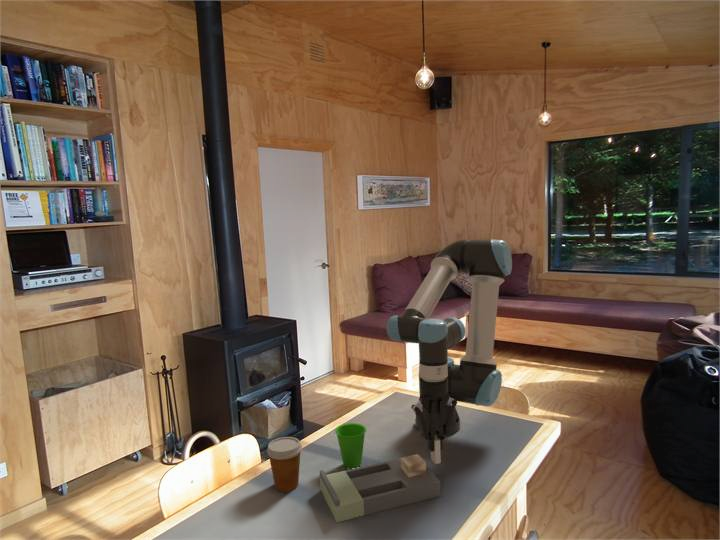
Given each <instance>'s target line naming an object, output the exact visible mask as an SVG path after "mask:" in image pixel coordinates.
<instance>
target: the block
mask: <svg viewBox="0 0 720 540" xmlns="http://www.w3.org/2000/svg"><path fill="white" fill-rule="evenodd" d="M400 458H401V469H402V470H403V471H404V472H405V473H406V474H407V476H408V477H412V476H416V475H421V474H425V473H426V467H427V462H426V461H425V460H424V459H423V458H422V457H421V455H419V454H418V453H416V454H412V455H407V456H403V457H400Z"/></svg>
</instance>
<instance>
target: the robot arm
mask: <svg viewBox="0 0 720 540" xmlns="http://www.w3.org/2000/svg"><path fill="white" fill-rule="evenodd" d="M512 257H513V256H512V252H511V248H510V246H509V244H508V242H506V241H505V240H504V239H494V238H491V239H460V240H456V241H454V242H451V243H450V244H448V245H446V246H445V247H444V248H442V249H441V250H440V251H439V252H438V253H436V255H435V256H434V258H433V259H432V261H431V263H430V270H429V272H428V273H427V275H426V276H425V277H424V279H423V281H422V282H421V284H420V285H419V287H418V288H417V290H416V292H415V294H413V296H412V298H411V300H410V301H409V303H408V305H407V306H406V308H405V309H404V311H403V312H402V314H401V315H399V314H397V315H392V316H391V317H389V318H388V320H387V322H386V323H387V324H386V334H387V335H388V336H387V337H388V338H389V339H390V340H392V341H395V342H396V341H397V342H401V343H411V344H418V353H419V354H418V357H419V358H418V359H419V360H418V361H419V362H418V364H419V365H418V366H419V367H418V384H419V385H418V387H419V388H418V390H419V398H418V401H417V403H416V404H412V405H411V410H413V412H414V414H415V419H414V425H415V428H416V429H417V430H418V431H419V432H420V433H419V434H420V436H421V437H422V438H423V439H424V440H426V441H427V449H428V451H430V461H432V462H433V463H434V464H435V465H437V464H441V463H442V462H441V461H442V460H441V450H443V448H444V442H443V441H444V440H445V439H446V438H445V437H447V436H449V435H452V434H454V433H456V432H458V431H459V430H460V429H461V418H460V416H459V413H458V410H457V408H456V407H457V405H458V403H459V402H461V403H465V404H471V405H475V406H481V407H482V406H483V407H490V406H493V405H494V404H495V403H496V402H497V399H498V397H499V395H500V392H501V388H502V383H503V378H502V377H503V374H502V372H501V371H500V370H499V369H497V365H498V364H497V362H495V360H494V359H493V357H494V346H495V337H496V336H495V335H496V326H497V325H496V324H497V314H498V305H499V304H498V303H499V291H500V286H501V285H502V284H503V283H504V282H505V280H506V279H505V278H506V276H509V275H511V273H512V270H513V258H512ZM460 274H467V275H468V279H469V280H470V282H471V283H472V288H471V297H470V305H469V306H470V308H469V319H468V326H467V327H468V328H467V332H466V327H465V325H464V323H463V321H462V320H460V319H459V318H457V317H447V318H444V319H439V318H430V316H431V315H432V313H433V311H434V310H435V308H436V306H437V304H439V301H440V300H441V298H442V296H443V294H444V293H445V291H446V289H447V287H448V286H449V284H450V283H451V281H454V279H455V278H456V277H457V276H458V275H460ZM466 333H467V338H466V347H465V354H464V356H463V357H461V358H460V359H459V364H455V360H454V359H453V358H452V357H448V350H450V349H451V348H452V347H455V346H457V345H458V344H460V343H461V342H462V341H463V340H464V337H465V336H466Z"/></svg>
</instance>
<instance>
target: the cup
mask: <svg viewBox="0 0 720 540" xmlns="http://www.w3.org/2000/svg"><path fill="white" fill-rule="evenodd" d="M334 432H335V434H336V437H337V440H338V447H339V451H340V455H341V461H342V465H343V467H344V466H345V467H346V468H349V469H348V470H350V469H352V468H357V467H359V466H360V465H362V461H363V460H362V459H363V453H364V442H365V434H366V432H367V428H366V426H365V425H364V424H361V423H356V422H347V423H342V424H340V425H338V426H337V427H336V428H335V430H334ZM345 467H344V468H345ZM360 467H361V466H360ZM346 468H345V469H346Z"/></svg>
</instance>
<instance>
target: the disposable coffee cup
mask: <svg viewBox="0 0 720 540" xmlns="http://www.w3.org/2000/svg"><path fill="white" fill-rule="evenodd" d="M302 450H303V445H302V443H301V442H300V440H299V439H298V438H296V437H292V436H283V437H279V438H275V439H273V440H271V441H270V442H269V443H268V445H267V448H266V453H267V455H268V458H269V463H270V469H271V472H272V477H273V483H274V487H275V489H276V490H277V491H278V492H283V493H286V492H287V493H288V492H291V491H293V490H296V489H297V487H298V486H299V476H300V462H301V453H302Z"/></svg>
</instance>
